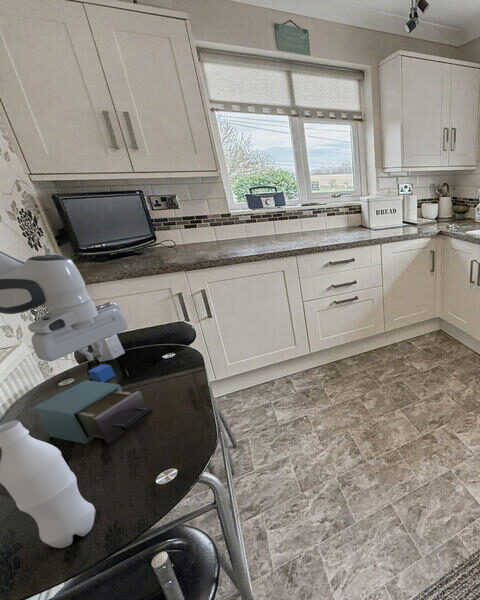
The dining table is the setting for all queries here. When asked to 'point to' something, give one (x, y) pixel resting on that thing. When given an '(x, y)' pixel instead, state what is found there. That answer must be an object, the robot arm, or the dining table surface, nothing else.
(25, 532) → the dining table surface
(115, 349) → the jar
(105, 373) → the blue cube
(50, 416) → the drawer cabinet
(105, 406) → the purple drawer
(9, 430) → the water bottle
